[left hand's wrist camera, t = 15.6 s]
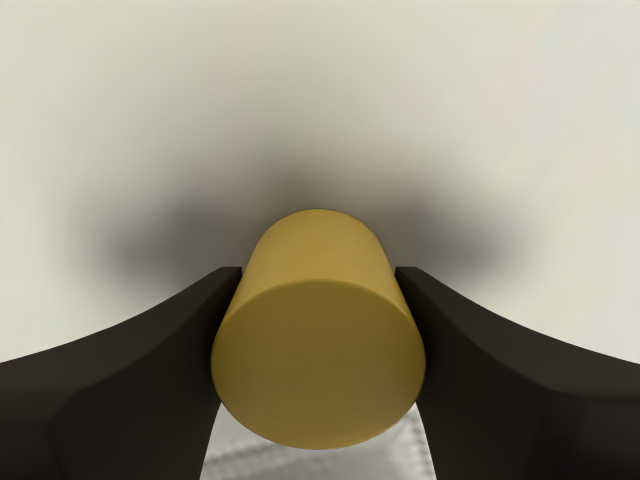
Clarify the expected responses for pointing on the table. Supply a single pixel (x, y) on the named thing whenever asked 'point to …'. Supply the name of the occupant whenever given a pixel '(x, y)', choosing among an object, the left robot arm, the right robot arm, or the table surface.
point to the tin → (318, 337)
